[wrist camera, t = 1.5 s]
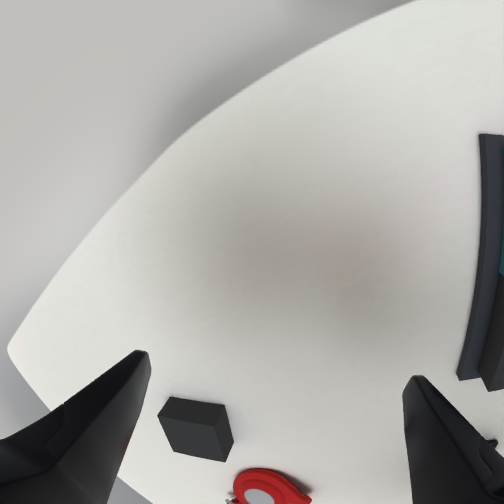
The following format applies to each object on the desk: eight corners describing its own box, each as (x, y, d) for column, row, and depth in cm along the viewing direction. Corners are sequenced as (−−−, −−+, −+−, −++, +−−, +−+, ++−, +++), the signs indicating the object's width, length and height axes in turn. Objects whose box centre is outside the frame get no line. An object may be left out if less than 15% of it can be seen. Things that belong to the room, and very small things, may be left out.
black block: (234, 442, 29) (225, 462, 26) (183, 433, 31) (173, 451, 28) (224, 404, 27) (214, 426, 25) (169, 396, 29) (156, 415, 26)
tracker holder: (233, 465, 29) (315, 500, 25) (250, 446, 33) (325, 477, 29) (214, 516, 30) (281, 546, 26) (230, 498, 34) (292, 526, 30)
